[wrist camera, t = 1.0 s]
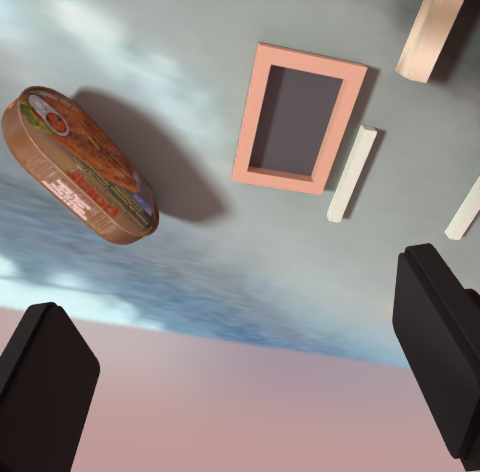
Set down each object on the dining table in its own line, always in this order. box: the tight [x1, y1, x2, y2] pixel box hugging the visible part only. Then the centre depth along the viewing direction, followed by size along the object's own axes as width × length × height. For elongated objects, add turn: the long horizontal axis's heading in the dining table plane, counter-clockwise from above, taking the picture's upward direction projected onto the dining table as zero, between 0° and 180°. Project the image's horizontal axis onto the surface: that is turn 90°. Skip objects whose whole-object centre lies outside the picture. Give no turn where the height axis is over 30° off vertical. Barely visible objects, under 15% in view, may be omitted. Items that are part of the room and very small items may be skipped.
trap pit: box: [232, 42, 367, 195], centre depth 34 cm, size 12×9×2 cm
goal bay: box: [327, 125, 480, 240], centre depth 38 cm, size 10×15×1 cm, turn 79°
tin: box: [2, 86, 159, 245], centre depth 32 cm, size 15×3×8 cm, turn 33°
